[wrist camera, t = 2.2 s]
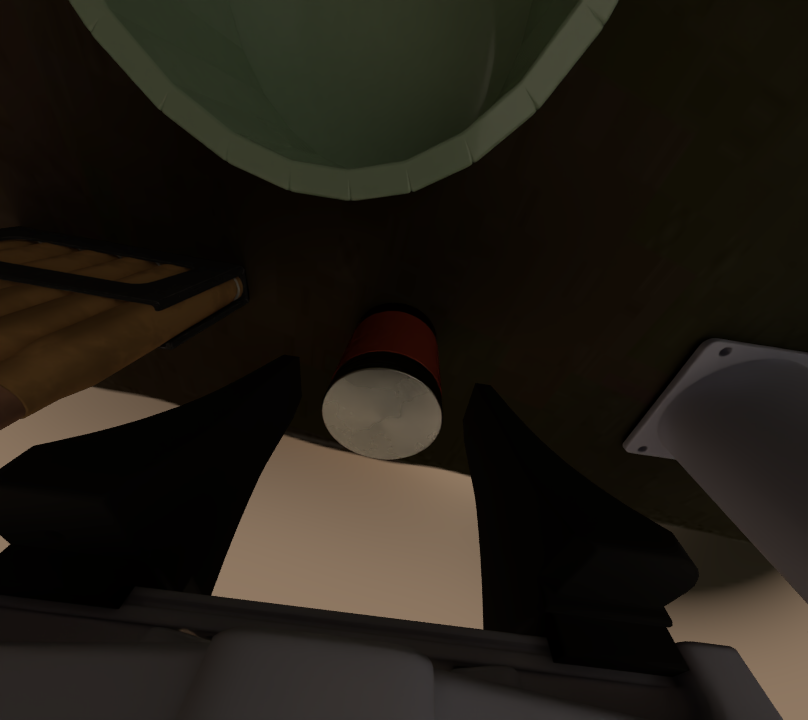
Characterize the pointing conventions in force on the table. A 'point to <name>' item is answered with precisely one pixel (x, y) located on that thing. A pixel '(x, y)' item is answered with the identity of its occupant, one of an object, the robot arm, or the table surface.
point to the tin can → (387, 385)
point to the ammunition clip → (95, 311)
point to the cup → (347, 80)
